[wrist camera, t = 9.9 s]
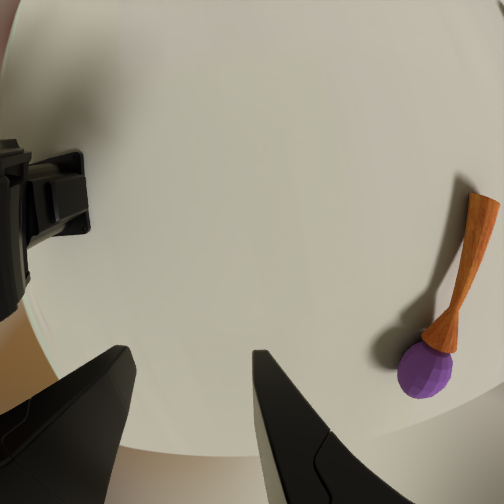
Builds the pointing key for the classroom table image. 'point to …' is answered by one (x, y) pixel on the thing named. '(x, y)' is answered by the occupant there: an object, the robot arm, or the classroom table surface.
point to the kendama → (448, 310)
